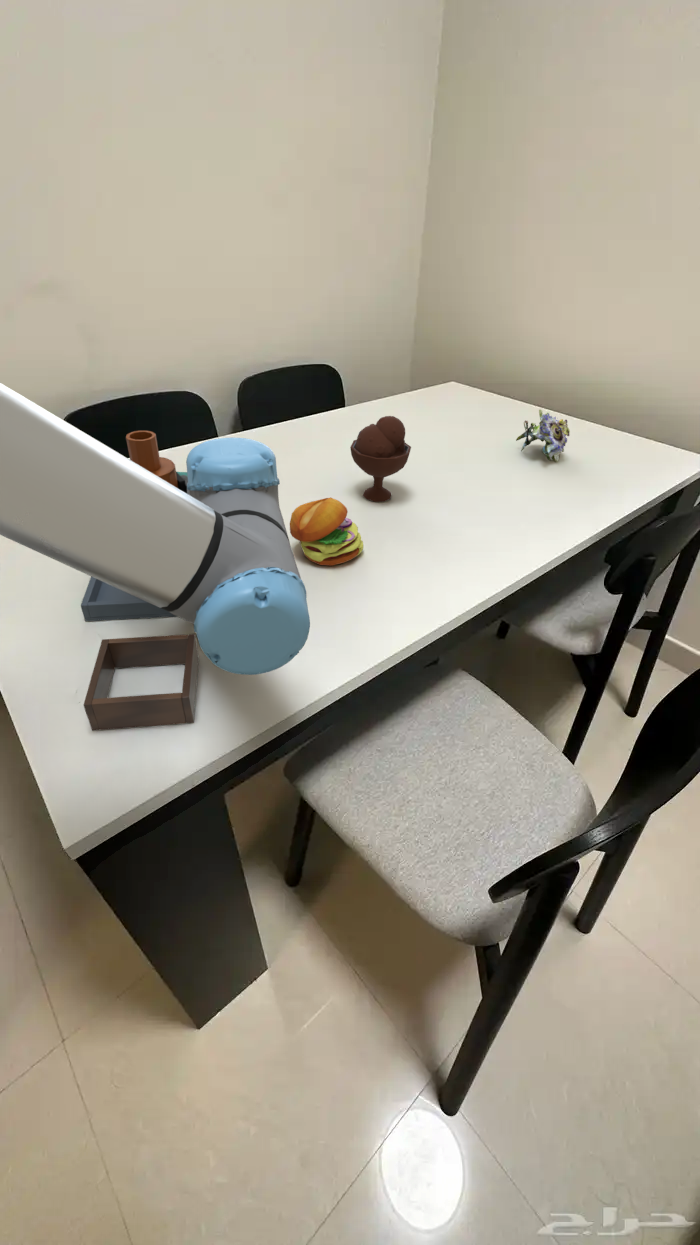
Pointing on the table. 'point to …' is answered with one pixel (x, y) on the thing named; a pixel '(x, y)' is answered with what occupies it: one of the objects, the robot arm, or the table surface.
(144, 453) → the bottle
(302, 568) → the table surface
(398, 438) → the ice cream bowl
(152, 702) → the tray
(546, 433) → the passion flower
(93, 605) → the tray
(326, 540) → the cheeseburger
